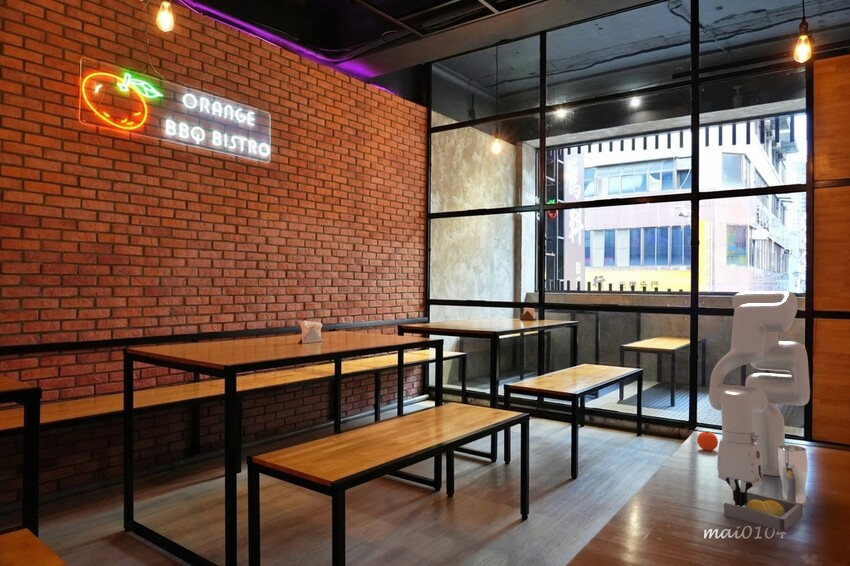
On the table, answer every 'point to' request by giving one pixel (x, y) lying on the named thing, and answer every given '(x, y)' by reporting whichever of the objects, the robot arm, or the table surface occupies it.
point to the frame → (779, 523)
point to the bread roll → (766, 507)
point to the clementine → (707, 441)
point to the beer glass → (793, 472)
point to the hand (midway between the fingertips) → (740, 504)
